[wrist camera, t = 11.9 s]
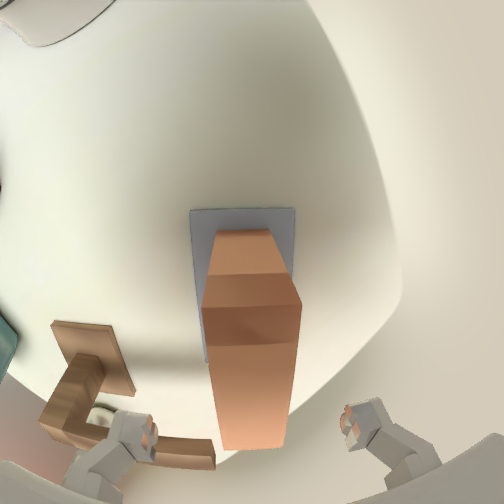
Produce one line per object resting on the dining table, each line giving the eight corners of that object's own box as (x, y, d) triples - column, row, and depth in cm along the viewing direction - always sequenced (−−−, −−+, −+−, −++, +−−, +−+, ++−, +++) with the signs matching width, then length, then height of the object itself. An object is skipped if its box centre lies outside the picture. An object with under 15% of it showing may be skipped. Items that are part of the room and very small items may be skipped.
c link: (216, 230, 21) (201, 307, 10) (269, 229, 21) (302, 303, 11) (225, 351, 25) (223, 450, 15) (266, 350, 25) (282, 447, 15)
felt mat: (190, 210, 21) (189, 212, 20) (293, 208, 21) (294, 209, 21) (206, 359, 26) (205, 362, 25) (284, 355, 26) (285, 359, 26)
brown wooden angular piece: (54, 320, 24) (2, 388, 13) (212, 328, 25) (204, 434, 14) (82, 382, 27) (52, 449, 16) (220, 395, 28) (219, 483, 17)
